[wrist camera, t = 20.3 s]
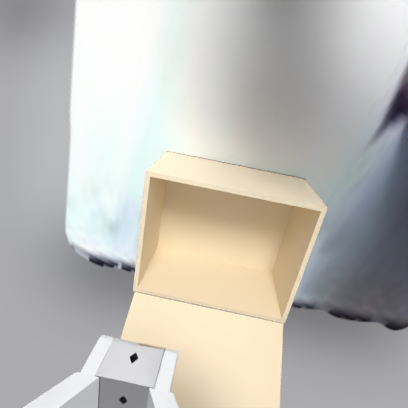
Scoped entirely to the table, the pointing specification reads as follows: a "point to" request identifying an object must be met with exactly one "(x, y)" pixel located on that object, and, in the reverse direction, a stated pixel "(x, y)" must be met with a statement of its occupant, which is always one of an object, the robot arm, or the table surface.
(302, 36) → the table surface
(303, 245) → the carton
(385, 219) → the table surface
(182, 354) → the carton flap
